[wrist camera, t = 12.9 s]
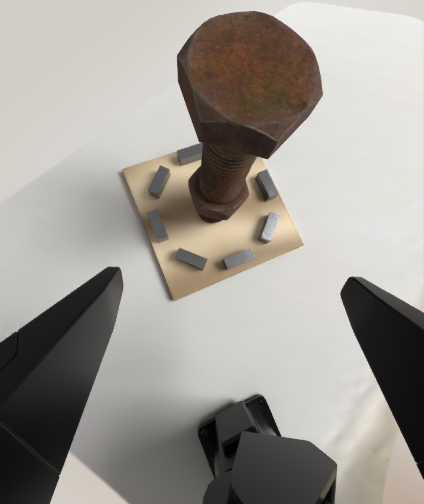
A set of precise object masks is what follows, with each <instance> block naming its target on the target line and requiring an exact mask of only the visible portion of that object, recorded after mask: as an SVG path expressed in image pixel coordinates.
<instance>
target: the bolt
mask: <svg viewBox="0 0 424 504" xmlns="http://www.w3.org/2000/svg"><path fill="white" fill-rule="evenodd" d="M177 67H178V83H179V86H180V88H181V91H182V94H183V97H184V100H185V103H186V106H187V109H188V112H189V114H190V117H191V120H192V123H193V126H194V129H195V132H196V134H197V137H198V140H199V142H201V143H203V147H202V159H201V166H200V167H199V168H198V169H197V170H196V171H195V172H194V173H193V174H192V176H191V177H190V178H189V180H188V187H189V191H190V194H191V197H192V201H193V204H194V206H195V209H196V211H197V214H198V215H199V217H200V218H201V219H202V220H203V221H205V222H207V223H218V222H221V221H222V220H228V219H229V218H230V217H231V216H232V215H233V214H234V213H235V212H236V211H237V210H238V209H239V207H240V206H241V205H242V204H243V203H244V202H245V201H246V199H247V198H248V196H249V190H248V186H247V182H246V177H247V175H248V173H249V172H250V169H251V167H252V165H253V163H254V162H255V160H256V158H257V157H261V158H265V159H269V158H270V157H271V155H272V154H273V153H274V152H275V151H276V150H277V149H278V148H279V147H280V146H281V145H282V144H283V143H284V142H285V141H286V140H287V139H288V138H289V137H290V136H291V134H292V133H293V132H294V131H295V130H296V129H297V128H298V127H299V126H300V125H301V124H302V123H303V122H304V121H305V120H306V119H307V118H308V117H309V115H310V114H311V112H312V111H313V109H314V108H315V106H316V105H317V103H318V102H319V100H320V99H321V97H322V96H323V92H322V83H321V75H320V71H319V66H318V63H317V60H316V57H315V54H314V52H313V50H312V49H311V47H310V46H309V45H308V44H307V43H306V41H305V40H304V39H302V38H301V37H300V36H299V35H298V34H297V33H296V32H295V31H293V30H292V29H291V28H289V27H288V26H287V25H285V24H284V23H283V22H281V21H279V20H278V19H276V18H275V17H273V16H271V15H268V14H265V13H261V12H256V11H249V12H236V13H229V14H224V15H218V16H215V17H213V18H210V19H208V20H207V21H206V22H204V23H203V24H202V25H201V26H200V27H199V28H197V29H196V31H195V32H194V33H193V34H192V35H191V36H190V38H189V39H188V40H187V42H186V43H185V44H184V46H183V47H182V49H181V50H180V52H179V53H178V55H177Z"/></svg>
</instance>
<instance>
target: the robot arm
mask: <svg viewBox="0 0 424 504" xmlns="http://www.w3.org/2000/svg"><path fill="white" fill-rule="evenodd" d="M122 292H123V279H122V273H121V269H120V268H119V267H107V268H106V269H104V270H103V271H101V272H100V273H98V274H97V275H96V276H94V277H93V278H91V279H90V280H88V281H87V282H86V283H84V284H83V285H81V286H80V287H79V288H77V289H76V290H74V291H73V292H71V293H70V294H69V295H67V296H66V297H64V298H63V299H62V300H60V301H59V302H57V303H56V304H54V305H53V306H52V307H50V308H49V309H47V310H46V311H45V312H43V313H42V314H40V315H39V316H37V317H36V318H35V319H33V320H32V321H30V322H29V323H28V324H26V325H25V326H23V327H22V328H20V329H19V330H18V332H15V333H13V334H12V335H10V336H9V337H8V338H6V339H5V340H3V341H2V342H0V504H50V501H51V499H52V496H53V493H54V490H55V488H56V485H57V482H58V480H59V475H60V474H61V471H62V468H63V465H64V463H65V460H66V457H67V455H68V452H69V449H70V446H71V444H72V441H73V438H74V435H75V433H76V430H77V427H78V425H79V422H80V419H81V416H82V414H83V411H84V408H85V405H86V403H87V400H88V397H89V394H90V392H91V389H92V386H93V384H94V381H95V378H96V375H97V373H98V370H99V367H100V364H101V362H102V359H103V356H104V353H105V351H106V348H107V345H108V343H109V340H110V337H111V334H112V332H113V329H114V325H115V322H116V317H117V313H118V309H119V305H120V300H121V296H122ZM340 295H341V299H342V302H343V305H344V307H345V310H346V313H347V316H348V318H349V321H350V324H351V327H352V329H353V332H354V334H355V336H356V338H357V340H358V342H359V345H360V347H361V349H362V351H363V353H364V355H365V357H366V359H367V361H368V363H369V366H370V368H371V370H372V372H373V374H374V376H375V378H376V380H377V382H378V384H379V387H380V389H381V391H382V393H383V395H384V397H385V399H386V401H387V403H388V405H389V408H390V410H391V412H392V414H393V416H394V418H395V420H396V422H397V424H398V426H399V429H400V431H401V433H402V435H403V437H404V439H405V441H406V443H407V445H408V447H409V449H410V452H411V454H412V456H413V458H414V460H415V462H416V463H417V467H418V469H419V471H420V473H421V475H422V477H423V479H424V313H423V312H422V311H420V310H418V309H416V308H415V307H413V306H411V305H409V304H407V303H406V302H404V301H402V300H400V299H399V298H397V297H395V296H393V295H392V294H390V293H388V292H386V291H385V290H383V289H381V288H379V287H378V286H376V285H374V284H372V283H371V282H369V281H367V280H365V279H364V278H362V277H349V278H348V279H347V281H346V283H345V285H344V286H343V288H342V290H341V294H340ZM260 399H261V400H262V403H260V404H259V403H258V401H259V400H260ZM202 430H206V433H204V434H203V433H201V431H202ZM198 436H199V439H200V441H201V444H202V447H203V449H204V452H205V455H206V457H207V460H208V463H209V465H210V468H211V470H212V473H213V476H214V478H215V479H214V480H213V481H212V482H211V483H210V484H209V485H208V488H207V490H206V493H205V495H204V498H203V503H202V504H335V490H336V475H337V464H336V462H335V461H333V460H332V459H331V458H330V457H329V456H327V455H326V454H325V453H324V452H322V451H321V450H320V449H319V448H317V447H316V446H315V445H314V444H312V443H311V442H309V441H305V440H299V439H292V438H286V437H281V435H280V432H279V430H278V427H277V425H276V423H275V420H274V418H273V416H272V413H271V411H270V409H269V406H268V404H267V401H266V399H265V398H264V396H262V395H260V394H259V395H256V396H254V397H253V398H251V399H249V400H247V401H245V402H242V401H240V402H238V403H236V404H234V405H233V406H231V407H229V408H227V409H225V410H223V411H221V412H219V413H217V414H216V417H215V418H213V419H211V420H209V421H207V422H205V423H203V424H201V425H200V426H199V428H198Z"/></svg>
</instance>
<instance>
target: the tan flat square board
mask: <svg viewBox="0 0 424 504" xmlns="http://www.w3.org/2000/svg"><path fill="white" fill-rule="evenodd" d="M160 165H161V166H163V167H166V168H168V169H170V175H171V176H170V178H169V180H168V182H167V184H166V186H165V188H164V190H163V192H162V194H161V196H160V198H159V199H158V198H155V197H153V196H150V195H149V192H148V188H149V186H150V184H151V182H152V180H153V178H154V176H155V174H156V172H157V170H158V168H159V166H160ZM200 166H201V160H198V161H195V162H192V163H189V164H187V165H184V166H181V165H180V163H179V160H178V158H177V152H174V153H171V154H168V155H165V156H162V157H158V158H155V159H152V160H149V161H146V162H143V163H140V164H137V165H134V166H131V167H128V168H125V169H122V170H123V172H124V175H125V178H126V180H127V183H128V185H129V188H130V190H131V193H132V195H133V198H134V200H135V203H136V205H137V208H138V210H139V213H140V216H141V218H142V221H143V223H144V226H145V228H146V231H147V233H148V236H149V238H150V241H151V243H152V246H153V248H154V251H155V253H156V256H157V259H158V261H159V264H160V266H161V269H162V271H163V274H164V276H165V279H166V281H167V284H168V286H169V289H170V291H171V294H172V297H173V299H174V301H175V300H177V299H179V298H182V297H184V296H186V295H189V294H191V293H193V292H196V291H198V290H200V289H203V288H205V287H207V286H210V285H212V284H214V283H217V282H219V281H221V280H224V279H226V278H228V277H231V276H233V275H235V274H238V273H240V272H242V271H245V270H247V269H249V268H252V267H254V266H256V265H259V264H261V263H263V262H265V261H268V260H270V259H272V258H275V257H277V256H279V255H282V254H284V253H286V252H289V251H291V250H293V249H296V248H298V247H300V246H303V245H304V244H303V242H302V240H301V238H300V236H299V234H298V232H297V230H296V228H295V226H294V224H293V222H292V220H291V218H290V216H289V213H288V211H287V209H286V207H285V205H284V203H283V201H282V199H281V197H280V195H279V194H278V195H277V196H276V197H275V199H272V200H270V201H267V202H266V201H265V199H264V197H263V195H262V193H261V191H260V188H259V186H258V184H257V182H256V180H255V177H256V175H257V173H258V172H261V171H263V170H266V169H267V168H266V166H265V164H264V162H263V160H262V158H261V157H257V158H256V160H255V162H254V163H253V165H252V167H251V169H250V172H249V173H248V175H247V177H246V182H247V186H248V190H249V196H248V198H247V199H246V201H245V202H244V203H243V204H242V205H241V206H240V207H239V209H238V210H237V211H236V212H235V213H234V214H233V215H232V216H231V217H230V218H229V219H228V220H222V221H221V222H218V223H207V222H205V221H203V220H202V219H201V218H200V217H199V215H198V214H197V211H196V209H195V206H194V204H193V201H192V197H191V194H190V191H189V187H188V180H189V178H190V177H191V176H192V174H193V173H194V172H195V171H196V170H197V169H198V168H199V167H200ZM267 171H268V170H267ZM268 173H269V172H268ZM269 175H270V174H269ZM270 177H271V176H270ZM271 179H272V178H271ZM156 209H157V210H158V213H159V215H160V218H161V220H162V223H163V225H164V227H165V230H166V232H167V235H168V237H169V239H168V240H166V241H163V242H161V243H159V242H158V240H157V237H156V235H155V232H154V230H153V227H152V225H151V222H150V220H149V217H148V215H147V212H150V211H153V210H156ZM270 212H273V213H275V214H278V215H280V217H279V220H278V223H277V225H276V228H275V231H274V234H273V237H272V239H271V242H269V243H267V244H266V243H263V242H261V241H259V240H258V238H259V235H260V232H261V229H262V227H263V224H264V221H265V219H266V216H267V215H268V214H269V213H270ZM179 247H180V248H182V249H184V250H187V251H189V252H192V253H194V254H196V255H199V256H201V257H204V258H206V259H208V260H207V262H206V265H205V267H204V270H200V269H198V268H196V267H193V266H191V265H188V264H186V263H183V262H181V261H179V260H176V259H175V256H176V254H177V252H178V249H179ZM250 248H251V249H252V252H253V254H254V256H255V258H254V259H252V260H250V261H247V262H245V263H243V264H240V265H238V266H235V267H233V268H231V269H228V270H226V269H225V267H224V264H223V262H222V260H223V259H225V258H228V257H230V256H233V255H235V254H237V253H240V252H242V251H245V250H247V249H250Z"/></svg>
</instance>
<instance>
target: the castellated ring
mask: <svg viewBox="0 0 424 504" xmlns="http://www.w3.org/2000/svg"><path fill="white" fill-rule="evenodd" d="M202 147H203V143H200V144H197V145H193V146H190V147H187V148H184V149H181V150H178V151H177V158H178V160H179V163H180V165H181V166H184V165H187V164H189V163H192V162H195V161H198V160H201V159H202ZM170 176H171V175H170V169H168V168H166V167H163V166H161V165H160V166H159V168H158V170H157V172H156V174H155V176H154V178H153V180H152V182H151V184H150V186H149V188H148V192H149V195H150V196H153V197H155V198H158V199H159V198H160V196H161V194H162V192H163V190H164V188H165V186H166V184H167V182H168V180H169V178H170ZM255 180H256V182H257V184H258V186H259V188H260V191H261V193H262V195H263V197H264V199H265V201H266V202H267V201H270V200H272V199H275V197H276V196H277V195H278V194H279V193H278V191H277V189H276V187H275V185H274V183H273V181H272V179H271V177H270V175H269V173H268V171H267V169H266V170H263V171H261V172H258V173H257V175H256V177H255ZM147 215H148V217H149V220H150V222H151V225H152V227H153V230H154V232H155V235H156V237H157V240H158V242H159V243H161V242H163V241H166V240H168V239H169V237H168V235H167V232H166V230H165V227H164V225H163V223H162V220H161V218H160V215H159V213H158V210H157V209H156V210H153V211H150V212H147ZM279 217H280V215H278V214H275V213H273V212H270V213H269V214H268V215H267V216H266V219H265V221H264V224H263V227H262V229H261V232H260V235H259V238H258V240H259V241H261V242H263V243H266V244H267V243H269V242H271V239H272V237H273V234H274V231H275V228H276V225H277V223H278V220H279ZM254 258H255V256H254V254H253V252H252V249H251V248H250V249H247V250H245V251H242V252H240V253H237V254H235V255H233V256H230V257H228V258H225V259H223V260H222V262H223V264H224V267H225V269H226V270H228V269H231V268H233V267H235V266H238V265H240V264H243V263H245V262H247V261H250V260H252V259H254ZM175 259H176V260H179V261H181V262H183V263H186V264H188V265H191V266H193V267H196V268H198V269H200V270H204V267H205V265H206V262H207V260H208V259H206V258H204V257H201V256H199V255H196V254H194V253H192V252H189V251H187V250H184V249H182V248H180V247H179V249H178V252H177V254H176V256H175Z"/></svg>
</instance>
